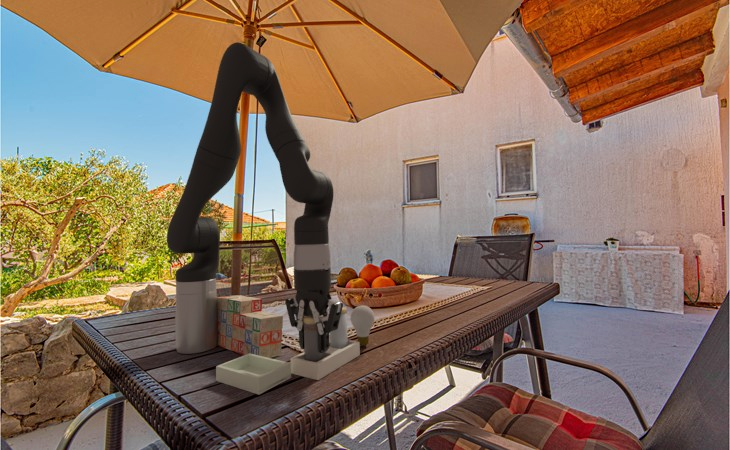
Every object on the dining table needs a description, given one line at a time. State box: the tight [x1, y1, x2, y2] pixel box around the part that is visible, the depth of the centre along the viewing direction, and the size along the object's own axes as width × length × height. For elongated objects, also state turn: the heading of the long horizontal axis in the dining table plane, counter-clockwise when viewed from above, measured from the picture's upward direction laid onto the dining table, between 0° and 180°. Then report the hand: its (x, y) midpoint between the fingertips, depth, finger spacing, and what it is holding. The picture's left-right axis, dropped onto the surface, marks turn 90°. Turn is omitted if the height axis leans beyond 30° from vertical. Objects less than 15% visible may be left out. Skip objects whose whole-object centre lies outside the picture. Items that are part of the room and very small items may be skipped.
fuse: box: [328, 306, 349, 349], centre depth 77 cm, size 4×4×11 cm
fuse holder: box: [290, 339, 361, 381], centre depth 73 cm, size 7×15×3 cm, turn 149°
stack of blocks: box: [217, 294, 284, 359], centre depth 84 cm, size 21×6×12 cm, turn 49°
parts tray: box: [215, 353, 292, 395], centre depth 66 cm, size 12×8×3 cm, turn 58°
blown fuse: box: [303, 315, 324, 362], centre depth 70 cm, size 4×4×11 cm
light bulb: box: [350, 305, 375, 348], centre depth 84 cm, size 6×6×10 cm
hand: (314, 349), depth 70 cm, fingers open, 4 cm apart
